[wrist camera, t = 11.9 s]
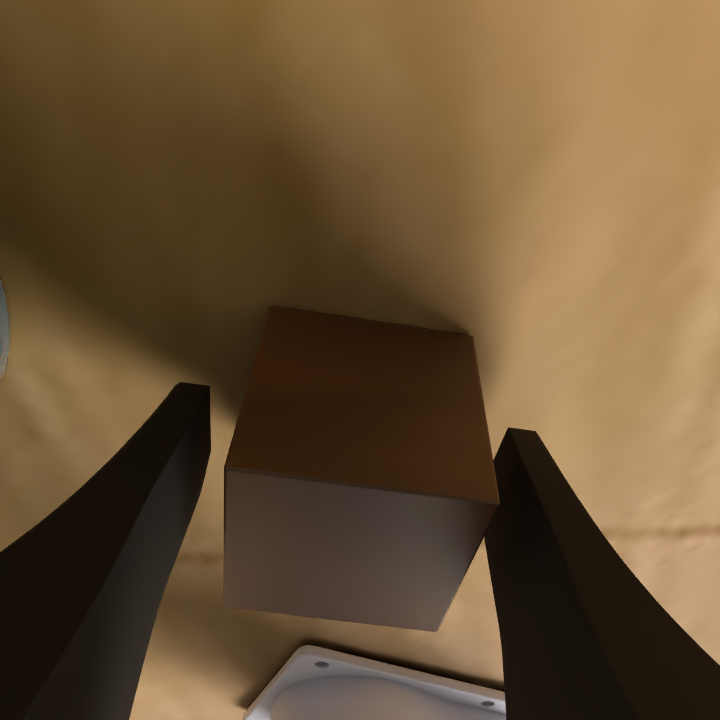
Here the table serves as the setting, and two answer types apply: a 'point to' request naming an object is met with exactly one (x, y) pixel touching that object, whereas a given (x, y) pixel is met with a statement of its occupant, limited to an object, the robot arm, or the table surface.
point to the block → (356, 472)
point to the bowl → (4, 332)
